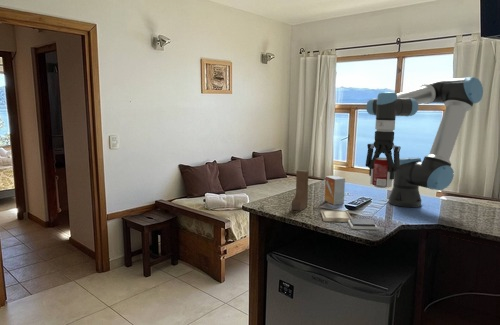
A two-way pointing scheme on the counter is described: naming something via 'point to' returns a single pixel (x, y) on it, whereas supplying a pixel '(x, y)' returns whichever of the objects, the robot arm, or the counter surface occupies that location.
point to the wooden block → (301, 191)
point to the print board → (335, 215)
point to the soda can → (380, 172)
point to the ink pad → (362, 224)
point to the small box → (334, 189)
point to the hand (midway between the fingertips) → (380, 185)
